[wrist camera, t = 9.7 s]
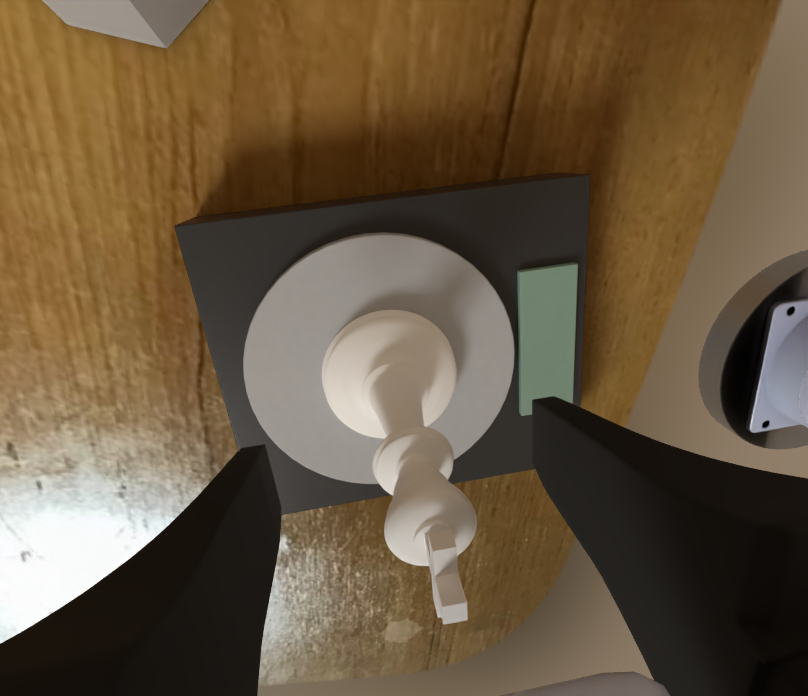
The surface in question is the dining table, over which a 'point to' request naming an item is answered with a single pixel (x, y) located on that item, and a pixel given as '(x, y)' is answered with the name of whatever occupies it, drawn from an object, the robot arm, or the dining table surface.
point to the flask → (130, 17)
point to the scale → (394, 290)
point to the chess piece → (406, 438)
